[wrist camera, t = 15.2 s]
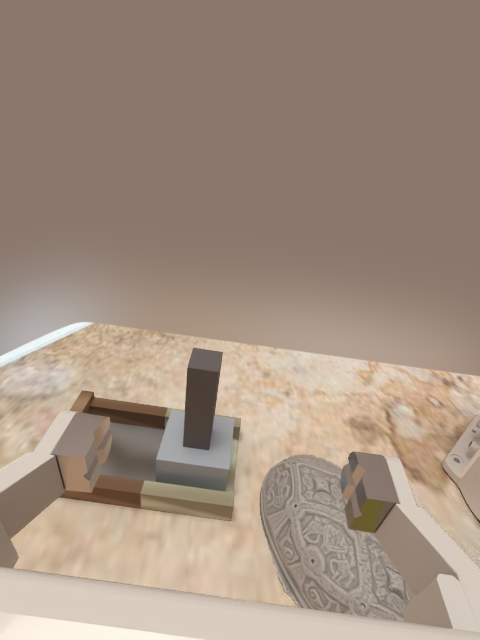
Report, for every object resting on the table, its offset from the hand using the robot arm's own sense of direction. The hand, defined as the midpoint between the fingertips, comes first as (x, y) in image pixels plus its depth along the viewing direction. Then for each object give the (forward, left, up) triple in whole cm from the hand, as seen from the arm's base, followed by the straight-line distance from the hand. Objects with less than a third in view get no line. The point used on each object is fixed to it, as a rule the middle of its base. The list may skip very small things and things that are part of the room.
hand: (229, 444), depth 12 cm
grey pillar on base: (-14, -12, -30) cm, 35 cm away
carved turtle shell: (-17, +6, -31) cm, 36 cm away
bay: (-11, -17, -30) cm, 36 cm away
